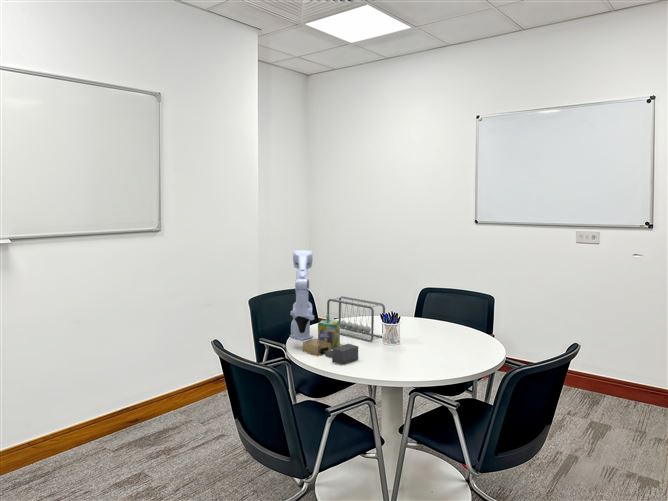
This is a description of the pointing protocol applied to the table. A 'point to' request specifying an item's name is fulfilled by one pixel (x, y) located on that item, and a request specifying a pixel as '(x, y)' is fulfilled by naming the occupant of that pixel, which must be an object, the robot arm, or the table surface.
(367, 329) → the newton's cradle
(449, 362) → the table surface
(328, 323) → the green multicoloured upright block
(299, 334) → the robot arm
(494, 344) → the table surface
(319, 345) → the brown open box
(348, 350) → the dark grey rectangular block
